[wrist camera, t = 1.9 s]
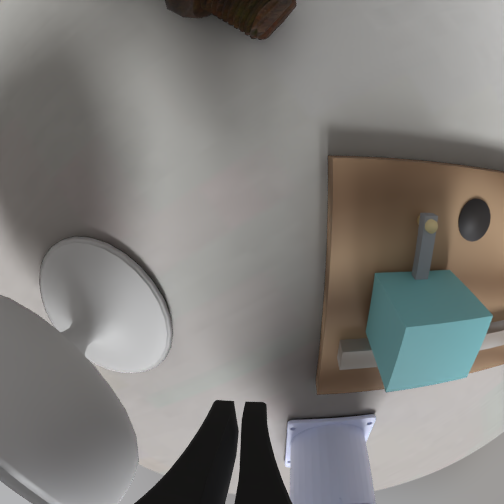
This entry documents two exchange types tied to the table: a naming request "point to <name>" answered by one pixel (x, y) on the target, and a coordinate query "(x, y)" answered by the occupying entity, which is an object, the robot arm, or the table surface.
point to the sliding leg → (424, 321)
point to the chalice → (76, 374)
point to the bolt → (239, 13)
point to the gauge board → (404, 252)
